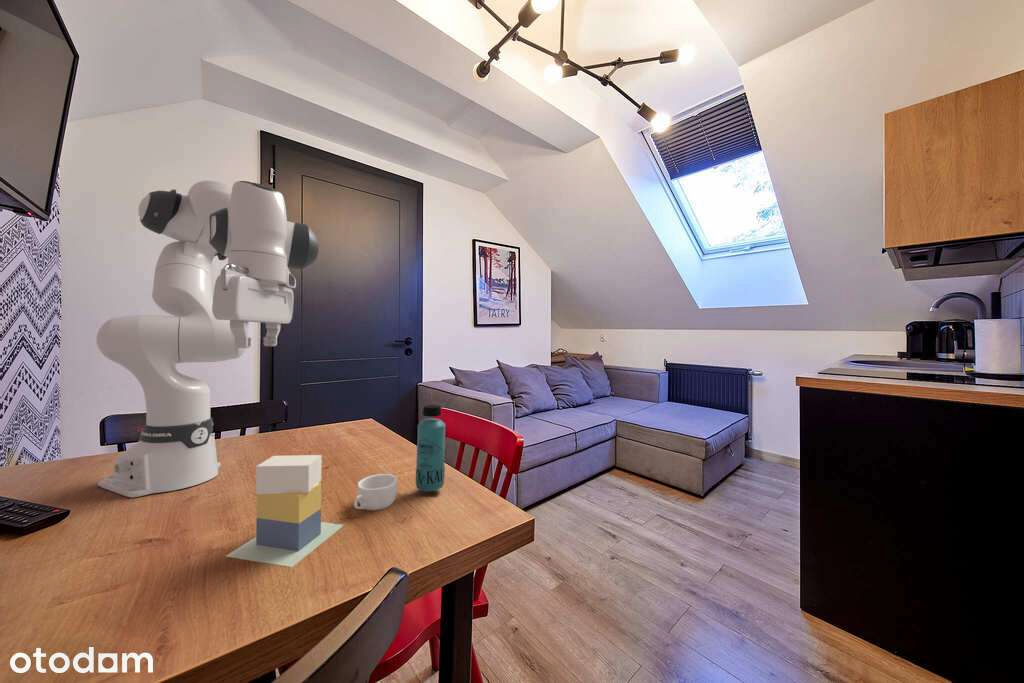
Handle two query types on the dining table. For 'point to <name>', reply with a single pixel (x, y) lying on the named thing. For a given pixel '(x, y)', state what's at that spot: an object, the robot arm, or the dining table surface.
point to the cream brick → (288, 474)
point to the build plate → (282, 555)
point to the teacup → (376, 492)
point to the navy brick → (288, 532)
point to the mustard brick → (289, 505)
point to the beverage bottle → (430, 451)
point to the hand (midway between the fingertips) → (257, 347)
